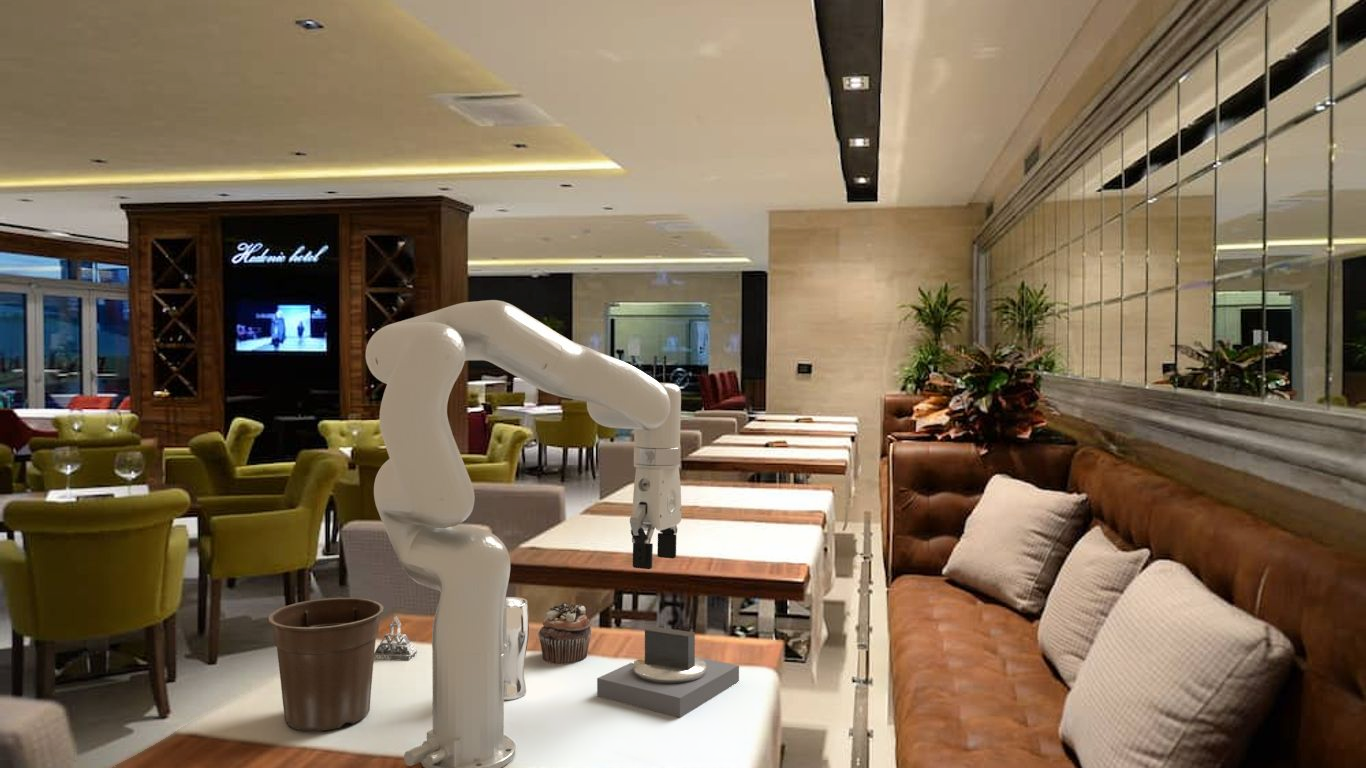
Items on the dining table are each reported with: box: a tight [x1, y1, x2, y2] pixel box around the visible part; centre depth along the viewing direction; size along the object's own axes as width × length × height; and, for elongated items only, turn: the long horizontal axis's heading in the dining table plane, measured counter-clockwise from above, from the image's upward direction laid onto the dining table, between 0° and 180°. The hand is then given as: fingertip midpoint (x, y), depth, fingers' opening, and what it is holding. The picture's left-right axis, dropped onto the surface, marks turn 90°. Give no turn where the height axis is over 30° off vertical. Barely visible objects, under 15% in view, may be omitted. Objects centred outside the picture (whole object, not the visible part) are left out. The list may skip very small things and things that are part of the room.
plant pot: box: [268, 597, 384, 732], centre depth 140 cm, size 16×16×16 cm
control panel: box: [596, 656, 740, 718], centre depth 151 cm, size 18×16×3 cm
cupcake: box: [537, 601, 592, 665], centre depth 167 cm, size 10×10×10 cm
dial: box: [633, 625, 706, 683], centre depth 151 cm, size 12×12×6 cm
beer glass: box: [503, 596, 530, 701], centre depth 149 cm, size 7×7×15 cm
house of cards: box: [374, 615, 418, 661], centre depth 170 cm, size 9×9×8 cm
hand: (654, 562), depth 151 cm, fingers open, 9 cm apart
